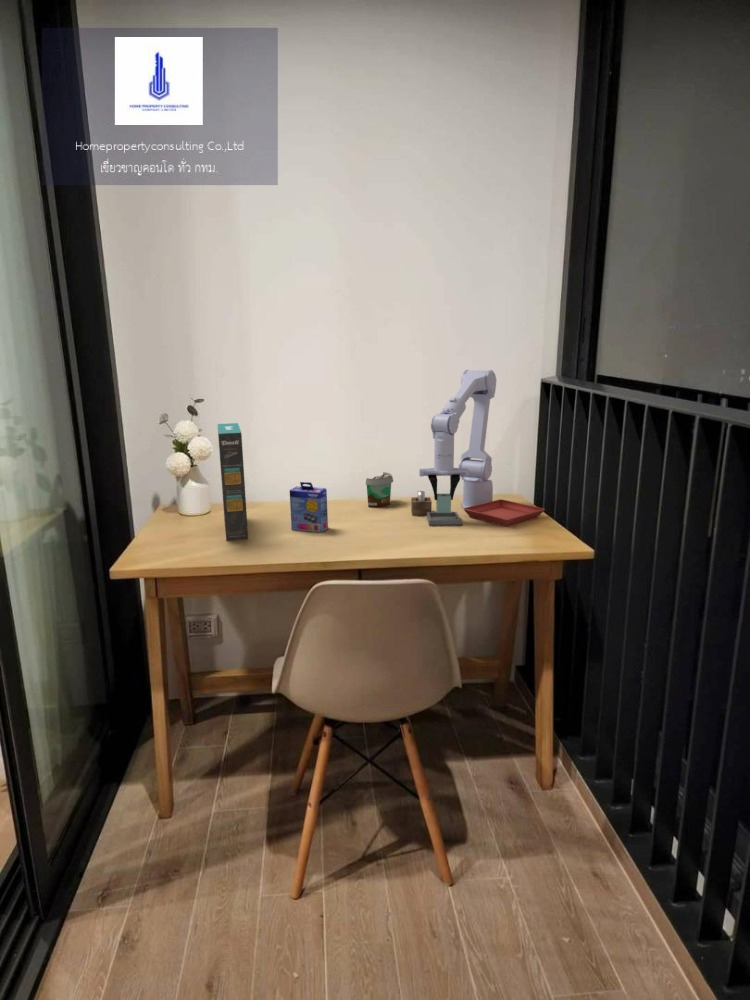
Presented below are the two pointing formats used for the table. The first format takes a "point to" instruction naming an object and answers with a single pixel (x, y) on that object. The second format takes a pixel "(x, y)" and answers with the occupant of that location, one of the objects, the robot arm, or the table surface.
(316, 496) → the ink cartridge box
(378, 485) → the food container
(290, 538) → the table surface
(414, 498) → the walnut block
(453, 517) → the tray
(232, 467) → the cake mix box
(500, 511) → the plant saucer
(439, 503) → the teal block
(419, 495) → the steel pin
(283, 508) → the table surface
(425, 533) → the table surface
